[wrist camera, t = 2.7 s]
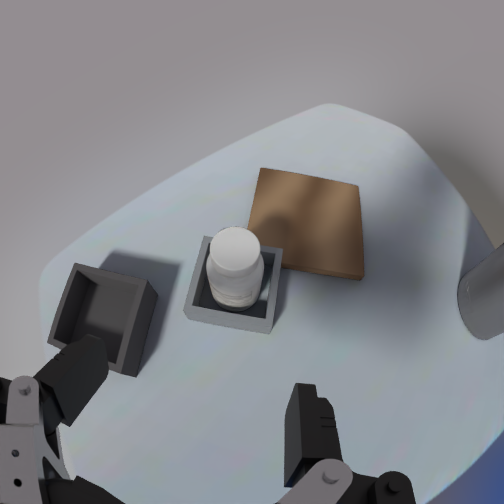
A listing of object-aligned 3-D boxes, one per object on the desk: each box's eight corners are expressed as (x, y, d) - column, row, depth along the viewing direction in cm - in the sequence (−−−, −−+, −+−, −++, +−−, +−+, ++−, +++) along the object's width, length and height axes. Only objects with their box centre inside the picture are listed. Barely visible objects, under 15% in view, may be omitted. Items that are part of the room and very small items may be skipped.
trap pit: (158, 295, 25) (147, 280, 22) (136, 377, 21) (120, 373, 18) (90, 278, 25) (74, 262, 22) (67, 350, 21) (47, 342, 18)
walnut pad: (355, 191, 32) (358, 186, 31) (360, 280, 26) (364, 276, 26) (259, 173, 33) (260, 167, 32) (241, 260, 27) (241, 256, 26)
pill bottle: (229, 260, 27) (227, 210, 20) (268, 283, 26) (279, 239, 19) (202, 295, 25) (188, 254, 18) (242, 321, 24) (244, 289, 17)
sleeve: (279, 261, 27) (282, 248, 25) (268, 334, 24) (272, 327, 21) (206, 249, 27) (204, 235, 25) (188, 319, 24) (183, 310, 22)
